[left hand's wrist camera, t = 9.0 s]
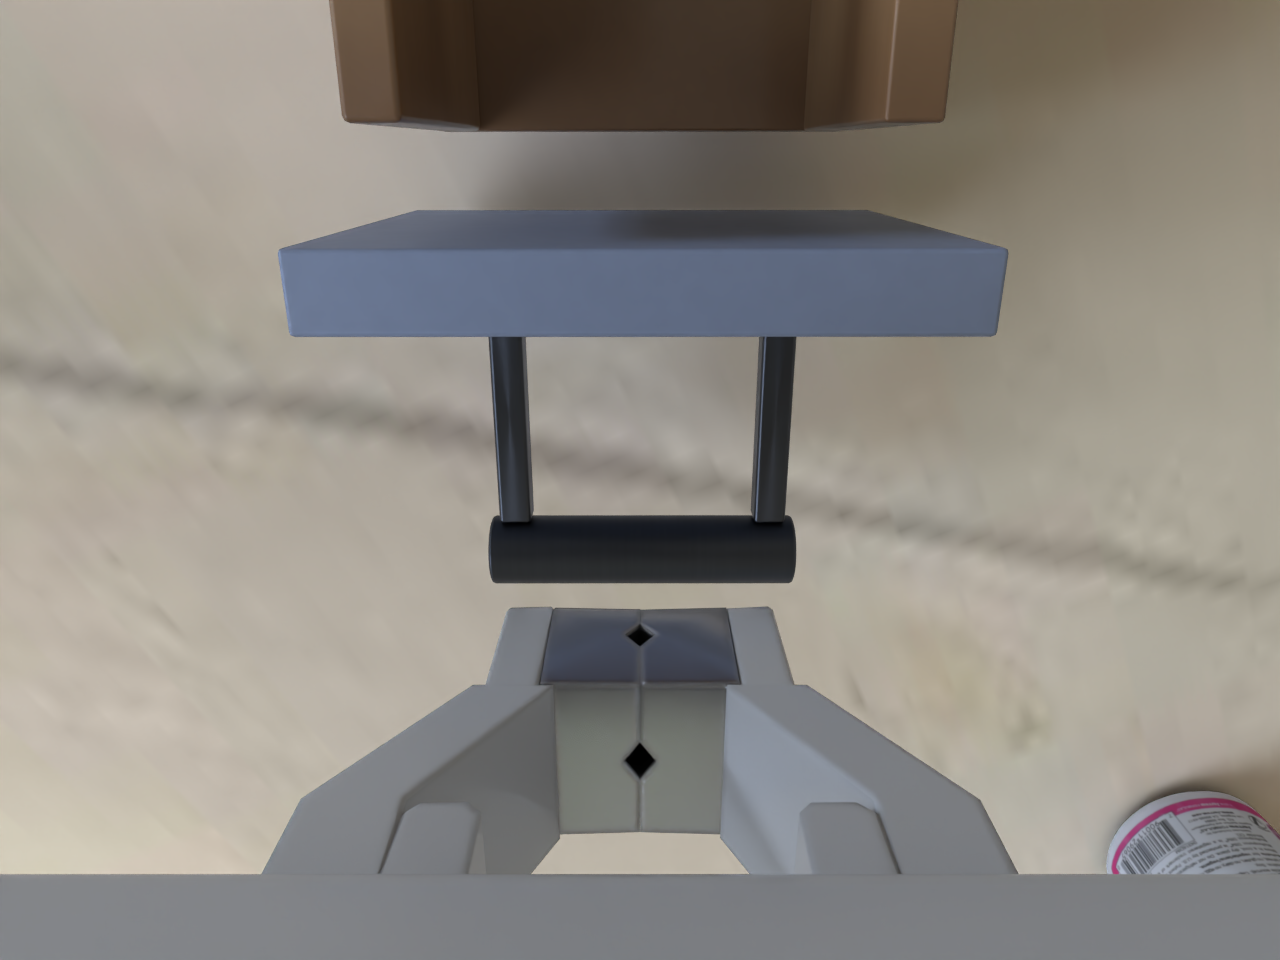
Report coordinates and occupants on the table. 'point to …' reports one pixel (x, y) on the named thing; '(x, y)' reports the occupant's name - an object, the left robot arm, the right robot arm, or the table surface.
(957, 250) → the drawer
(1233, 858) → the pill bottle
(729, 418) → the table surface
